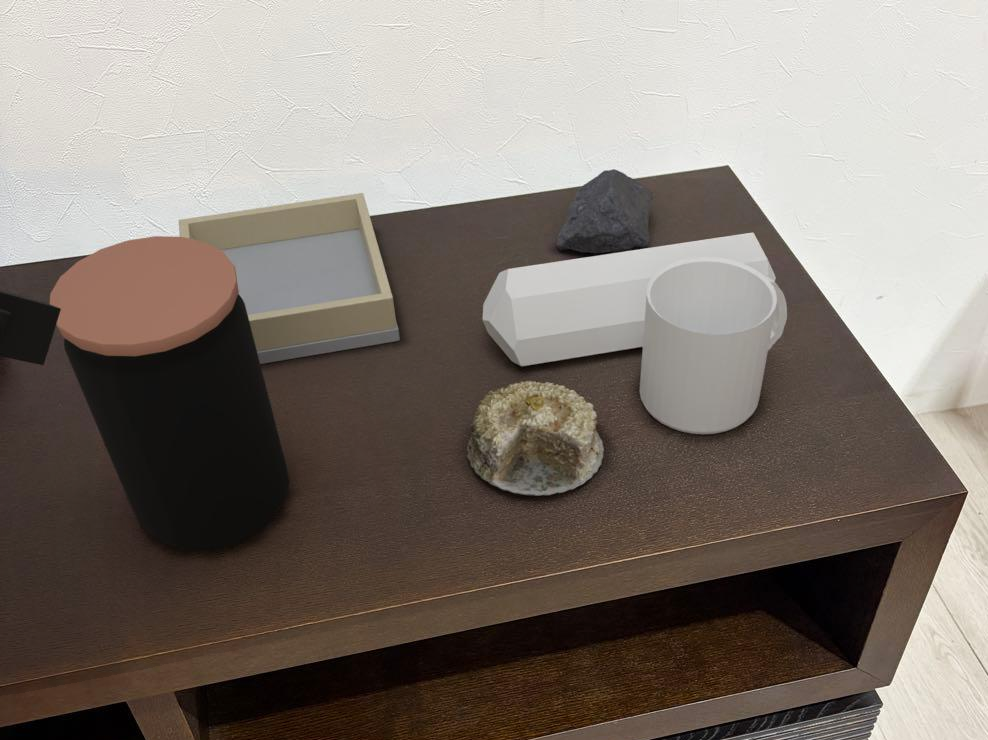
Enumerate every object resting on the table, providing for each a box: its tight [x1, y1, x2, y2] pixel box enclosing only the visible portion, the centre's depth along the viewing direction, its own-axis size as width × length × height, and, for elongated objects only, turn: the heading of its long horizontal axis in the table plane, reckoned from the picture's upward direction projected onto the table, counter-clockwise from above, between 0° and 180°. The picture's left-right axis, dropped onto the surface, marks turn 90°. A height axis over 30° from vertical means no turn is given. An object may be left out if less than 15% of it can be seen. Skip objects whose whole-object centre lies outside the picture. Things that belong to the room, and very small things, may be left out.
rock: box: [556, 168, 654, 255], centre depth 96 cm, size 9×6×10 cm
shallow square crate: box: [178, 192, 401, 365], centre depth 91 cm, size 16×16×4 cm
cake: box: [465, 380, 605, 497], centre depth 78 cm, size 10×10×5 cm
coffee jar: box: [49, 235, 290, 552], centre depth 70 cm, size 11×11×18 cm
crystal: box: [482, 232, 777, 367], centre depth 87 cm, size 7×7×24 cm
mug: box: [638, 257, 788, 435], centre depth 80 cm, size 12×9×9 cm
